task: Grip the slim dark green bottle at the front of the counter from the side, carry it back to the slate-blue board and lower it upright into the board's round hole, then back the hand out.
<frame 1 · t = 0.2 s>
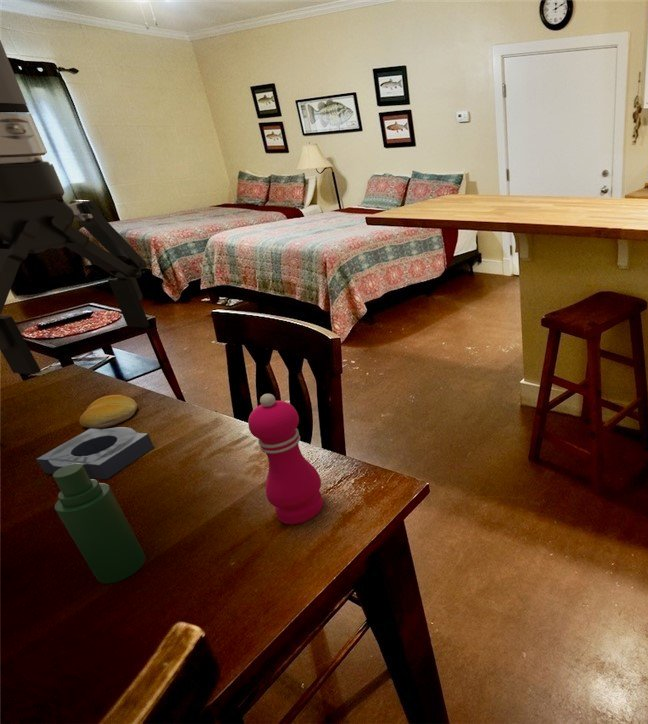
hand: (88, 347, 58), 28 cm above the table, tool pointing down, fingers open, 13 cm apart
bottle: (122, 567, 62), on the table
bread roll: (112, 418, 95), on the table
hole board: (101, 459, 82), on the table
pepper mill: (301, 510, 71), on the table
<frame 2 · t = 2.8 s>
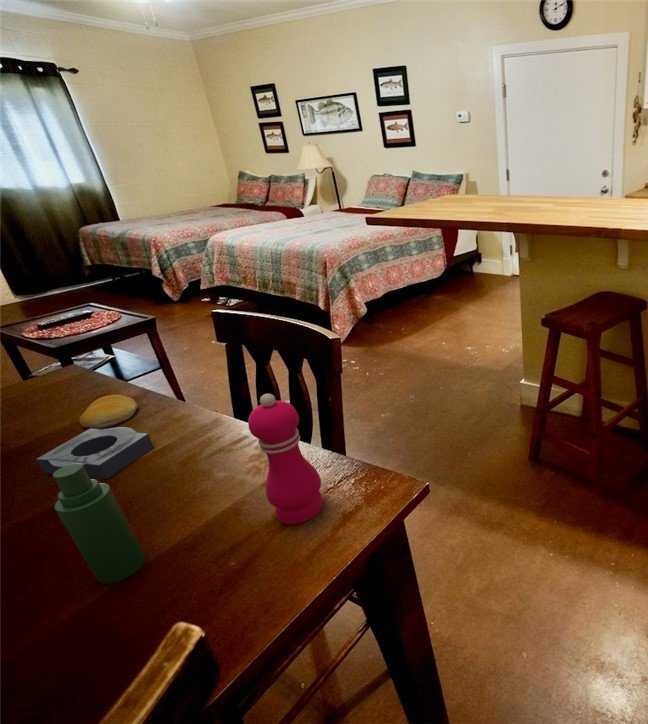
nothing on the table moved.
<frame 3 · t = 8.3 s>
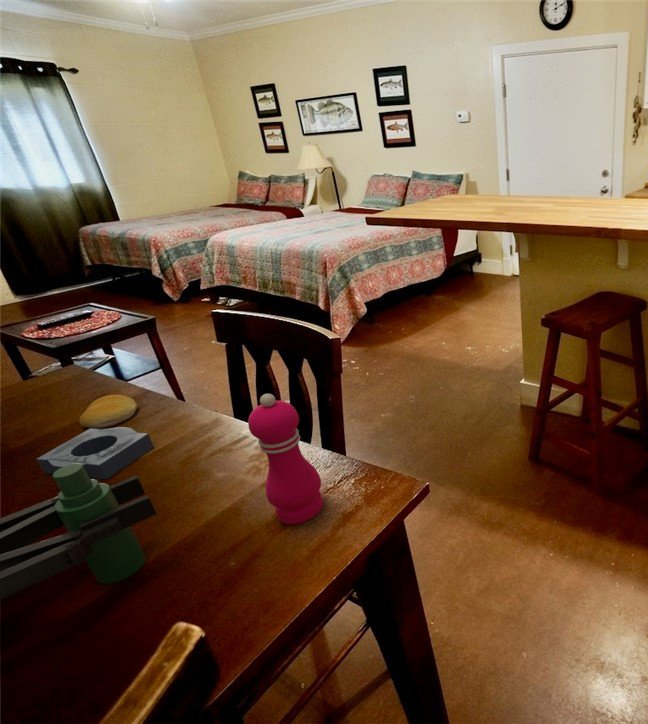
hand: (146, 494, 61), 9 cm above the table, tool horizontal, fingers closed on bottle, 5 cm apart
bottle: (122, 567, 62), on the table, touching gripper
everything else where it was.
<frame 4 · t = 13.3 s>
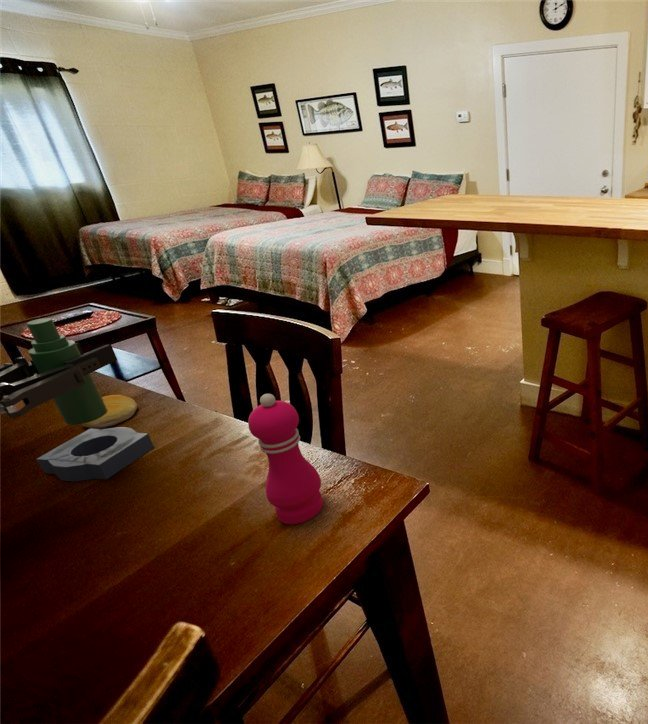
hand: (95, 351, 75), 20 cm above the table, tool horizontal, fingers closed on bottle, 5 cm apart
bottle: (87, 416, 74), point 11 cm above the table, touching gripper
everything else where it was.
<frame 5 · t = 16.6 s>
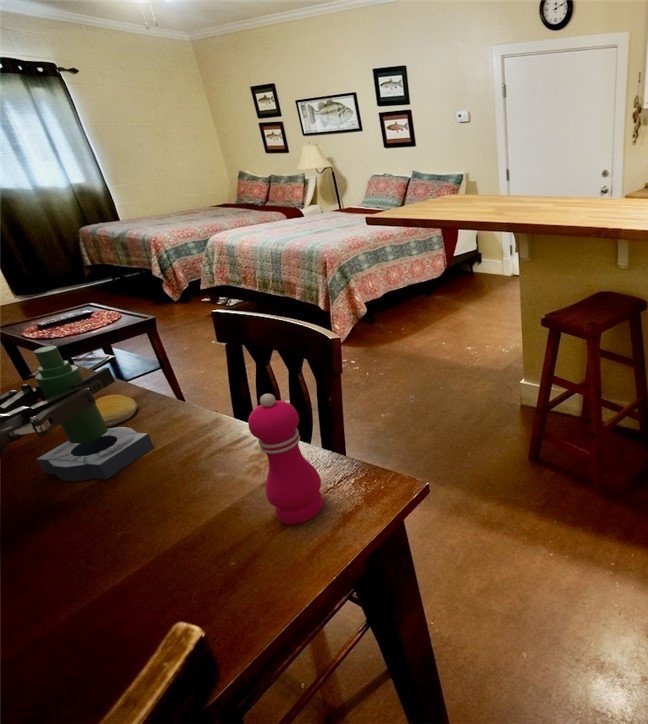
hand: (92, 375, 81), 14 cm above the table, tool horizontal, fingers closed on bottle, 5 cm apart
bottle: (89, 435, 80), point 5 cm above the table, touching gripper
everything else where it was.
when the fingers open (9 cm above the table, at t = 18.7 s): bottle stays where it is, resting in hole board.
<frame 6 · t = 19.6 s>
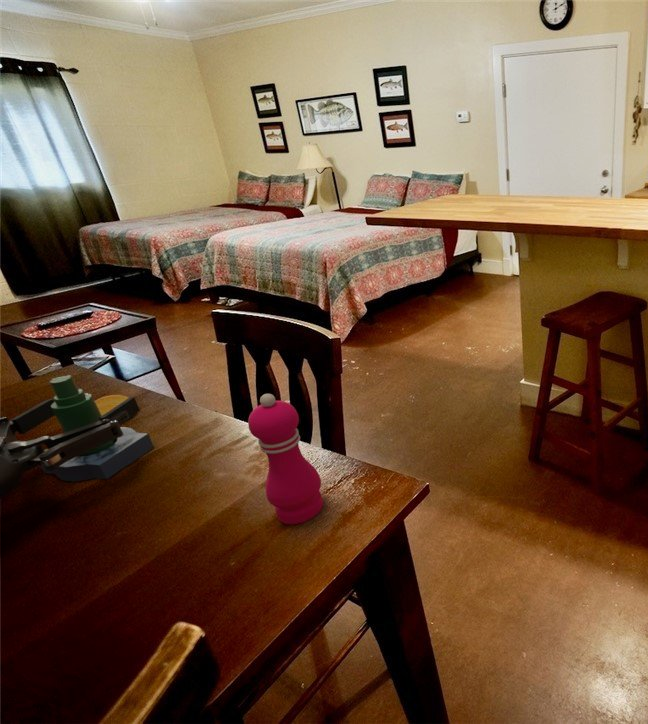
hand: (94, 404, 81), 9 cm above the table, tool horizontal, fingers open, 13 cm apart
bottle: (101, 459, 82), resting in hole board
everything else where it was.
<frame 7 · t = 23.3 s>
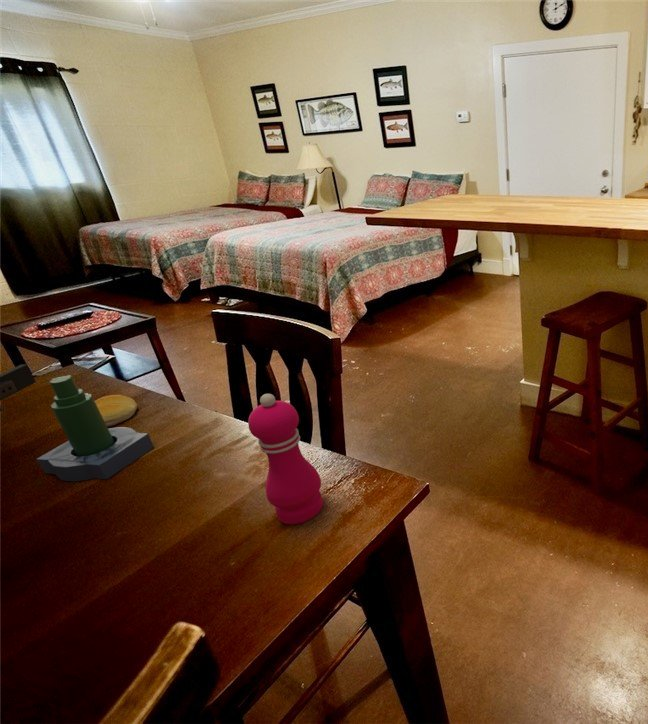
nothing on the table moved.
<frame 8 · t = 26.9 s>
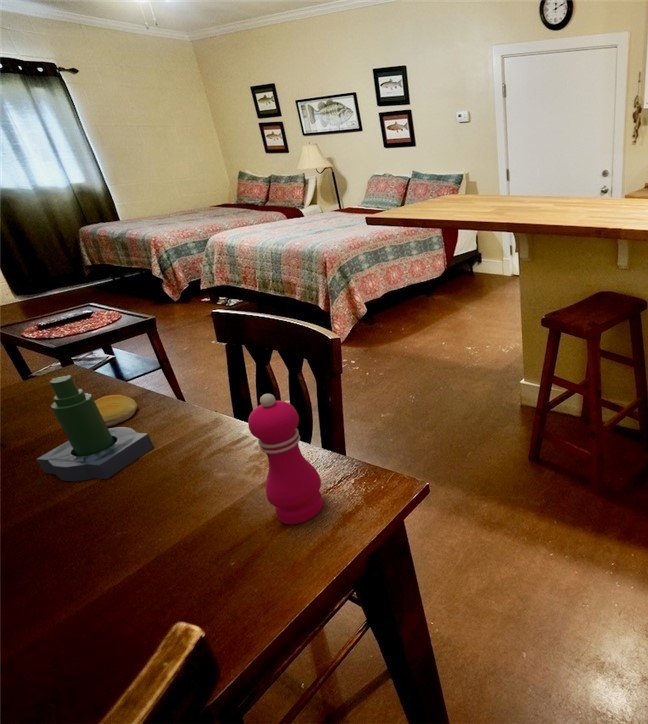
nothing on the table moved.
at the end: bottle 0.1 cm off-centre in the hole board, point 0.0 cm above the hole board's base; bottle tilted 0°; the gripper is holding nothing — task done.
